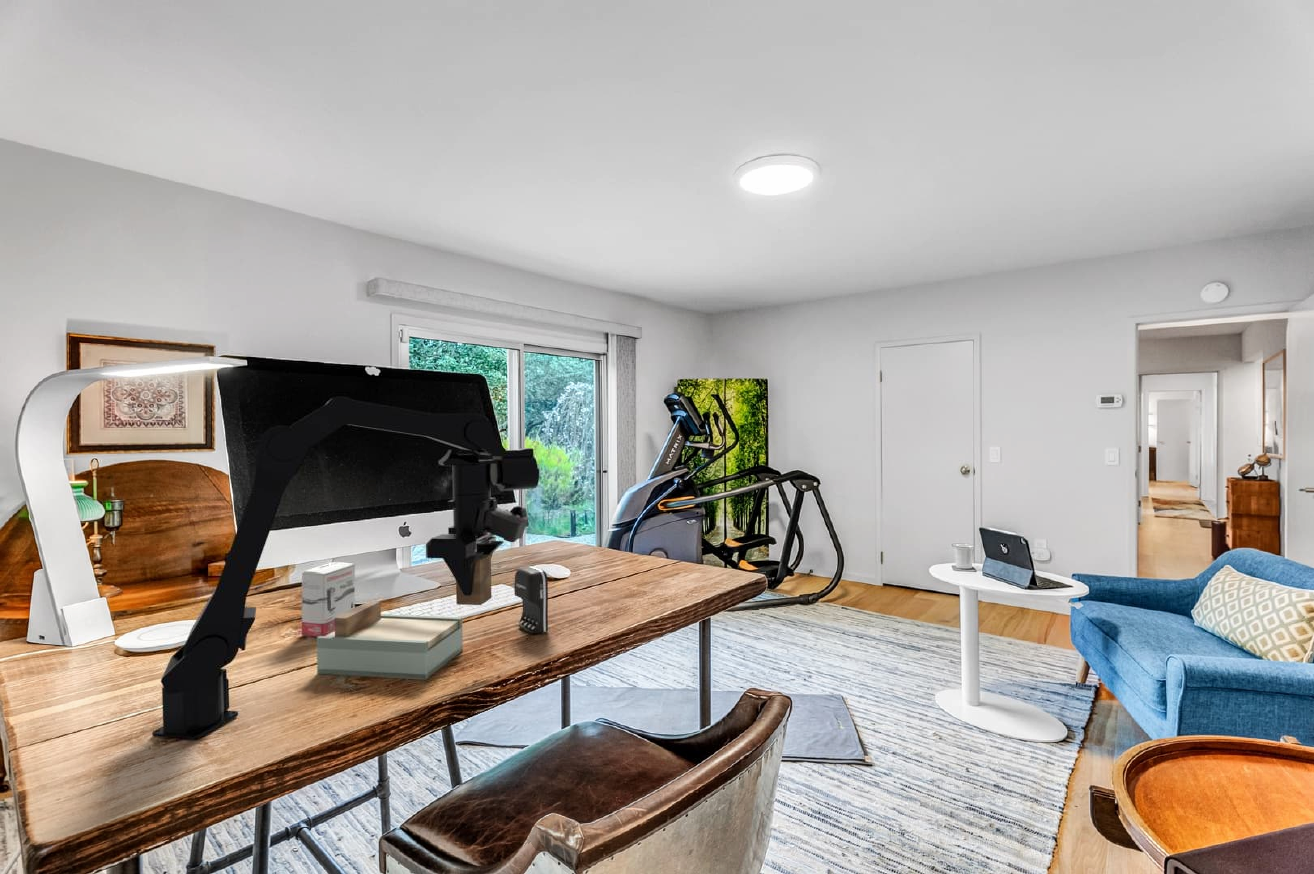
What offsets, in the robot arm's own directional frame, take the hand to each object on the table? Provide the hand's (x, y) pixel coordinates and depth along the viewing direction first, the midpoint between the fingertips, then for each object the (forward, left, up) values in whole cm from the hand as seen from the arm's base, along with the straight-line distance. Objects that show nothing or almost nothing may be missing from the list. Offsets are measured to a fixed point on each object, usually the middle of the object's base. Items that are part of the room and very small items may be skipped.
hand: (473, 591), depth 97 cm
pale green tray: (0, +14, -12) cm, 18 cm away
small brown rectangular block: (0, 0, -2) cm, 2 cm away
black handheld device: (+17, -3, -12) cm, 21 cm away
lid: (0, +14, -8) cm, 16 cm away
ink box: (+13, +35, -12) cm, 39 cm away
